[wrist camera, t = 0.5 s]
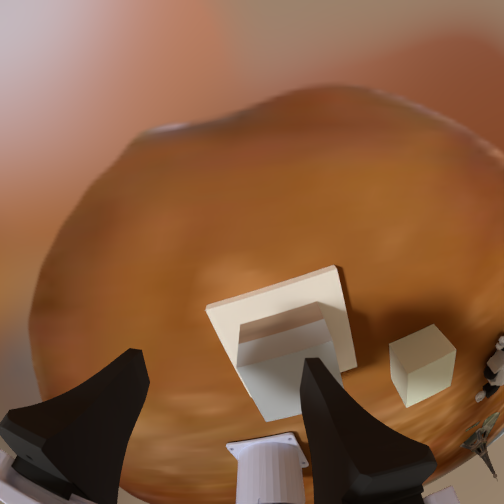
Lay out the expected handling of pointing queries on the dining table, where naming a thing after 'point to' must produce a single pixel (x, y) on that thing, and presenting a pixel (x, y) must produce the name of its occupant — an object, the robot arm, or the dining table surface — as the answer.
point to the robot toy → (493, 372)
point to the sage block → (421, 364)
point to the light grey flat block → (284, 367)
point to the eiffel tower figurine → (482, 440)
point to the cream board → (283, 299)
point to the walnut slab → (280, 322)
